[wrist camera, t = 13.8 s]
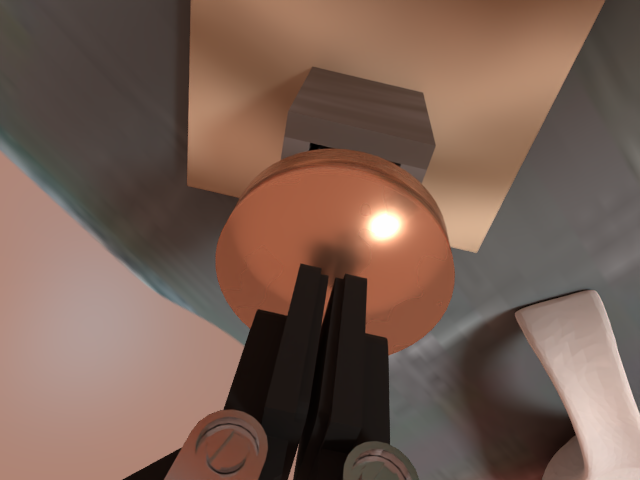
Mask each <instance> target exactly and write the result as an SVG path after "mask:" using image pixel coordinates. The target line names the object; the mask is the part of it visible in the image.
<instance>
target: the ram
mask: <svg viewBox="0 0 640 480" xmlns="http://www.w3.org/2000/svg"><path fill="white" fill-rule="evenodd" d="M300 263H301V264H306V265H310V266H315V267H319V268H322V270H321V274H323V275H328V276H329V279H328V286H327V292H326V299H325V306H324V312H323V319H324V316H325V312H326V308H327V305H328V301H329V298H330V294H331V291H332V287H333V284H334V280H335V278H336V277H337V278H341V279H343V278H344V275H345V274H350V275H354V276H359V277H363V278H367V303H366V328H365V333H367V334H372V335H376V336H381V337H385V338H387V340H388V355H391V354H393V353H396V352H398V351H401V350H403V349H405V348H407V347H409V346H410V345H412V344H414V343H415V342H417V341H418V340H420V339H421V338H423V337H424V336H425V335H426V334H427V333H428V332H429V331H431V330H432V329H433V328H434V326H435V325H436V324H437V323H438V322H439V320H440V319H441V318H442V316H443V314H444V313H445V311H446V309H447V307H448V305H449V302H450V300H451V297H452V293H453V288H454V278H455V271H454V263H453V257H452V252H451V248H450V243H449V238H448V233H447V228H446V225H445V221H444V218H443V215H442V213H441V211H440V209H439V207H438V205H437V203H436V201H435V200H434V198H433V197H432V196H431V194H430V193H429V191H428V190H427V189H426V188H425V187H424V186H423V185H422V184H421V183H420V182H419V181H418V180H417V179H416V178H415V177H413V176H412V175H411V174H410V173H408V172H407V171H406V170H404V169H402V168H401V167H399V166H397V165H396V164H394V163H392V162H390V161H388V160H385V159H383V158H381V157H378V156H375V155H372V154H368V153H365V152H360V151H355V150H349V149H335V148H331V147H327V146H322V145H319V147H318V150H311V151H306V152H302V153H298V154H295V155H292V156H289V157H286V158H284V159H282V160H280V161H278V162H276V163H274V164H272V165H271V166H269V167H268V168H267V169H265V170H264V171H262V172H261V173H260V174H259V175H258V176H257V177H256V178H254V179H253V180H252V181H251V182H250V184H249V185H248V186H247V188H246V189H245V190H244V192H243V193H242V195H241V197H240V199H239V201H238V202H237V204H236V206H235V208H234V210H233V211H232V213H231V215H230V217H229V219H228V221H227V222H226V224H225V226H224V228H223V230H222V232H221V235H220V238H219V240H218V243H217V250H216V272H217V278H218V282H219V285H220V288H221V291H222V293H223V295H224V297H225V299H226V301H227V302H228V304H229V305H230V307H231V308H232V310H233V311H234V313H235V314H236V315H237V316H238V317H239V318H240V319H241V321H242V322H243V323H245V324H246V325H247V326H248V327H249V328H250V329H251V326H252V323H253V320H254V317H255V314H256V311H257V309H260V310H265V311H269V312H274V313H278V314H283V315H288V311H289V307H290V303H291V299H292V295H293V291H294V287H295V283H296V279H297V275H298V271H299V267H300ZM323 319H322V323H323ZM321 326H322V325H321Z"/></svg>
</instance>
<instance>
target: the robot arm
mask: <svg viewBox="0 0 640 480" xmlns="http://www.w3.org/2000/svg"><path fill="white" fill-rule="evenodd" d="M321 270H322V268H319V267H315V266H310V265H306V264H301V263H300V267H299V271H298V275H297V279H296V283H295V287H294V291H293V295H292V299H291V303H290V307H289V311H288V315H283V314H278V313H274V312H269V311H265V310H260V309H257V311H256V314H255V317H254V320H253V323H252V326H251V329H250V332H249V335H248V338H247V341H246V344H245V347H244V350H243V353H242V356H241V359H240V362H239V365H238V368H237V371H236V374H235V377H234V380H233V383H232V386H231V389H230V392H229V395H228V398H227V401H226V404H225V407H224V410H220V411H217V412H214V413H212V414H209V415H208V416H206V417H205V418H203V419H202V420H201V421H199V422H198V423H197V425H196V426H195V427H194V429H193V430H192V431H191V433H190V434H189V436H188V438H187V440H186V442H185V443H184V445H183V447H182V448H180V449H178V450H176V451H175V452H173V453H171V454H169V455H167V456H165V457H164V458H162V459H160V460H158V461H156V462H154V463H152V464H150V465H149V466H147V467H145V468H143V469H141V470H139V471H138V472H136V473H134V474H132V475H131V476H128V477H127V478H125V479H123V480H288V477H289V474H290V470H291V467H292V464H293V461H294V457H295V454H296V451H297V448H298V453H297V460H296V466H295V472H294V479H293V480H419V478H418V475H417V472H416V469H415V468H414V466H413V465H412V463H411V462H410V460H409V459H408V458H407V457H406V456H405V455H404V454H403V453H402V452H401V451H400V450H399V449H397V448H395V447H393V446H391V445H390V417H389V362H388V340H387V338H385V337H381V336H376V335H372V334H367V333H365V328H366V303H367V278H363V277H359V276H354V275H350V274H345V275H344V278H343V279H341V278H337V277H336V278H335V280H334V284H333V287H332V291H331V294H330V298H329V301H328V305H327V308H326V312H325V316H324V319H323V312H324V306H325V299H326V292H327V286H328V279H329V276H328V275H323V274H321ZM322 319H323V323H322ZM321 325H322V326H321ZM298 444H299V447H298Z"/></svg>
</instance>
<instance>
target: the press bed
mask: <svg viewBox="0 0 640 480" xmlns="http://www.w3.org/2000/svg"><path fill="white" fill-rule="evenodd" d="M604 2H605V0H191V16H190V65H189V115H188V165H187V186H191V187H195V188H199V189H203V190H208V191H212V192H216V193H221V194H225V195H229V196H234V197H238V198H240V197H241V195H242V193H243V192H244V190H245V189H246V188H247V186H248V185H249V184H250V182H251V181H252V180H253V179H254V178H256V177H257V176H258V175H259V174H260V173H261V172H262V171H264V170H265V169H267V168H268V167H269V166H271V165H272V164H274V163H276V162H278V161H280V160H282V159H284V158H286V157H289V156H292V155H295V154H298V153H302V152H306V151H311V150H318V147H319V145H322V146H327V147H331V148H335V149H349V150H355V151H360V152H365V153H368V154H372V155H375V156H378V157H381V158H383V159H385V160H388V161H390V162H392V163H394V164H396V165H397V166H399V167H401V168H402V169H404V170H406V171H407V172H408V173H410V174H411V175H412V176H413V177H415V178H416V179H417V180H418V181H419V182H420V183H421V184H422V185H423V186H424V187H425V188H426V189H427V190H428V191H429V193H430V194H431V196H432V197H433V198H434V200H435V201H436V203H437V205H438V207H439V209H440V211H441V213H442V215H443V218H444V221H445V225H446V228H447V233H448V238H449V243H450V247H454V248H458V249H462V250H467V251H471V252H475V253H477V251H478V249H479V247H480V245H481V243H482V241H483V239H484V237H485V236H486V234H487V232H488V230H489V228H490V226H491V224H492V222H493V220H494V218H495V216H496V214H497V212H498V210H499V208H500V206H501V204H502V202H503V200H504V198H505V196H506V194H507V192H508V190H509V188H510V186H511V185H512V183H513V181H514V179H515V177H516V175H517V173H518V171H519V169H520V167H521V165H522V163H523V161H524V159H525V157H526V155H527V153H528V151H529V149H530V147H531V145H532V143H533V141H534V139H535V137H536V135H537V133H538V132H539V130H540V128H541V126H542V124H543V122H544V120H545V118H546V116H547V114H548V112H549V110H550V108H551V106H552V104H553V102H554V100H555V98H556V96H557V94H558V92H559V90H560V88H561V86H562V84H563V82H564V80H565V79H566V77H567V75H568V73H569V71H570V69H571V67H572V65H573V63H574V61H575V59H576V57H577V55H578V53H579V51H580V49H581V47H582V45H583V43H584V41H585V39H586V37H587V35H588V33H589V31H590V29H591V28H592V26H593V24H594V22H595V20H596V18H597V16H598V14H599V12H600V10H601V8H602V6H603V4H604Z"/></svg>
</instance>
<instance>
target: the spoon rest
mask: <svg viewBox="0 0 640 480" xmlns="http://www.w3.org/2000/svg"><path fill="white" fill-rule="evenodd" d="M515 317H516V320H517V322H518V324H519V326H520V328H521V329H522V331H523V333H524V335H525V337H526V339H527V341H528V342H529V344H530V346H531V347H532V349H533V351H534V352H535V354H536V355H537V357H538V358H539V360H540V362H541V364H542V365H543V367H544V369H545V370H546V372H547V374H548V376H549V377H550V379H551V381H552V383H553V385H554V386H555V388H556V390H557V392H558V394H559V396H560V398H561V400H562V402H563V404H564V406H565V408H566V411H567V413H568V415H569V417H570V420H571V422H572V425H573V428H574V431H575V433H576V435H575V436H574V437H572V438H571V439H570V440H569V441H568V442H567V443H566V444H565V445H564V446H562V447H561V448H560V449H559V450H558V451H557V452H556V454H555V455H554V456H553V457H552V459H551V460H550V462H549V463H548V465H547V467H546V469H545V472H544V475H543V477H542V480H640V413H639V411H638V408H637V406H636V403H635V400H634V398H633V395H632V392H631V389H630V386H629V383H628V380H627V377H626V374H625V371H624V368H623V365H622V362H621V359H620V356H619V352H618V349H617V344H616V340H615V337H614V334H613V331H612V328H611V324H610V321H609V318H608V316H607V312H606V310H605V307H604V304H603V302H602V300H601V298H600V296H599V294H598V293H597V292H596V291H594V290H586V291H582V292H577V293H574V294H570V295H567V296H564V297H560V298H556V299H552V300H548V301H545V302H541V303H537V304H534V305H531V306H528V307H525V308H522V309H520V310H518V311H517V312H516V313H515Z"/></svg>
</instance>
